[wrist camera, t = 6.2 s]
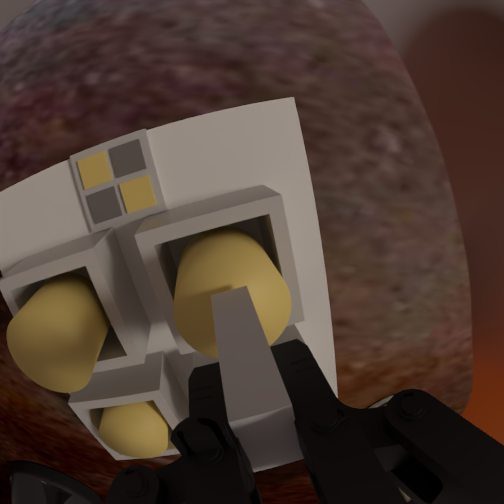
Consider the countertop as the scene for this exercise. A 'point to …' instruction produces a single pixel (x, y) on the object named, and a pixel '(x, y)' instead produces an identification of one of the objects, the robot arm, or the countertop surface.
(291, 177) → the button board
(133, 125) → the countertop surface
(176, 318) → the button
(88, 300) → the button
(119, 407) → the button
